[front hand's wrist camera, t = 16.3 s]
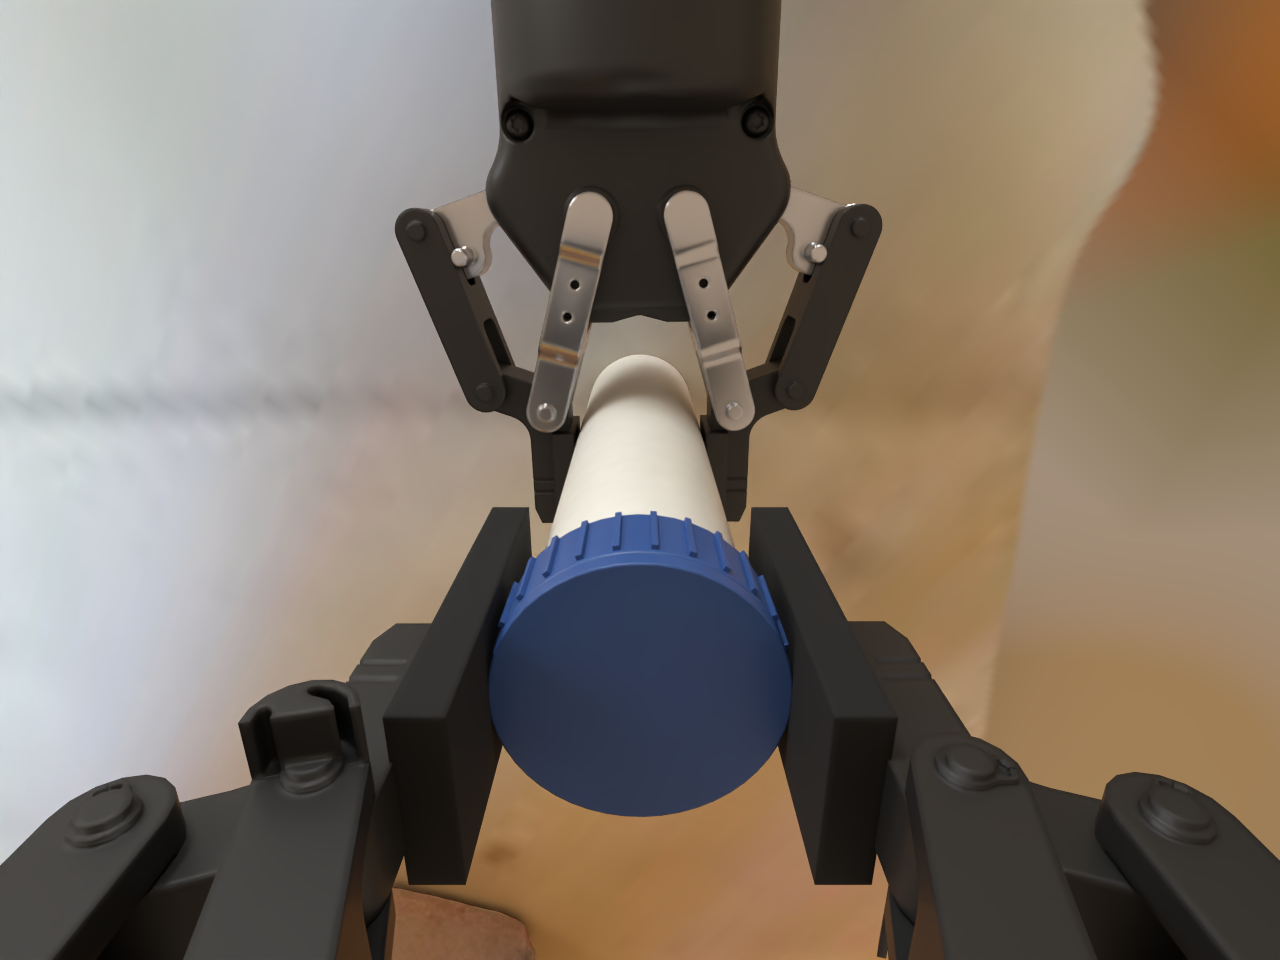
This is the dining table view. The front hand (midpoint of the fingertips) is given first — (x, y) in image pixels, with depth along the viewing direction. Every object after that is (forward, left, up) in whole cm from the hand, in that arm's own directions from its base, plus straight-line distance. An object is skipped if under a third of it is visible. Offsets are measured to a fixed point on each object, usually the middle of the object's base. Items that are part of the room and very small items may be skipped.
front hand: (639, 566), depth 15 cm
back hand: (-3, 0, -8) cm, 9 cm away
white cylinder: (0, 0, -14) cm, 14 cm away
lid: (0, 0, +4) cm, 4 cm away
